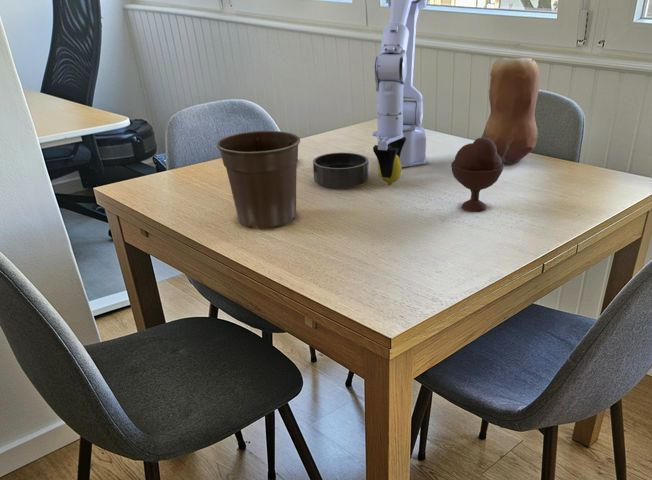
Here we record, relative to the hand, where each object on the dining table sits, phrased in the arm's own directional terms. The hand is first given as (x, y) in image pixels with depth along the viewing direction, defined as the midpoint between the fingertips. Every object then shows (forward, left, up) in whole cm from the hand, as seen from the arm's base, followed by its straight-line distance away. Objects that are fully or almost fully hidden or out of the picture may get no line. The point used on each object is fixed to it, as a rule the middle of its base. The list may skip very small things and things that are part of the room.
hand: (389, 173), depth 146 cm
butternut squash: (-36, -2, -3) cm, 36 cm away
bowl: (+9, -8, -3) cm, 12 cm away
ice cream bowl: (-9, +22, -3) cm, 24 cm away
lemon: (0, 0, -3) cm, 3 cm away
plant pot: (+33, +7, -3) cm, 34 cm away
